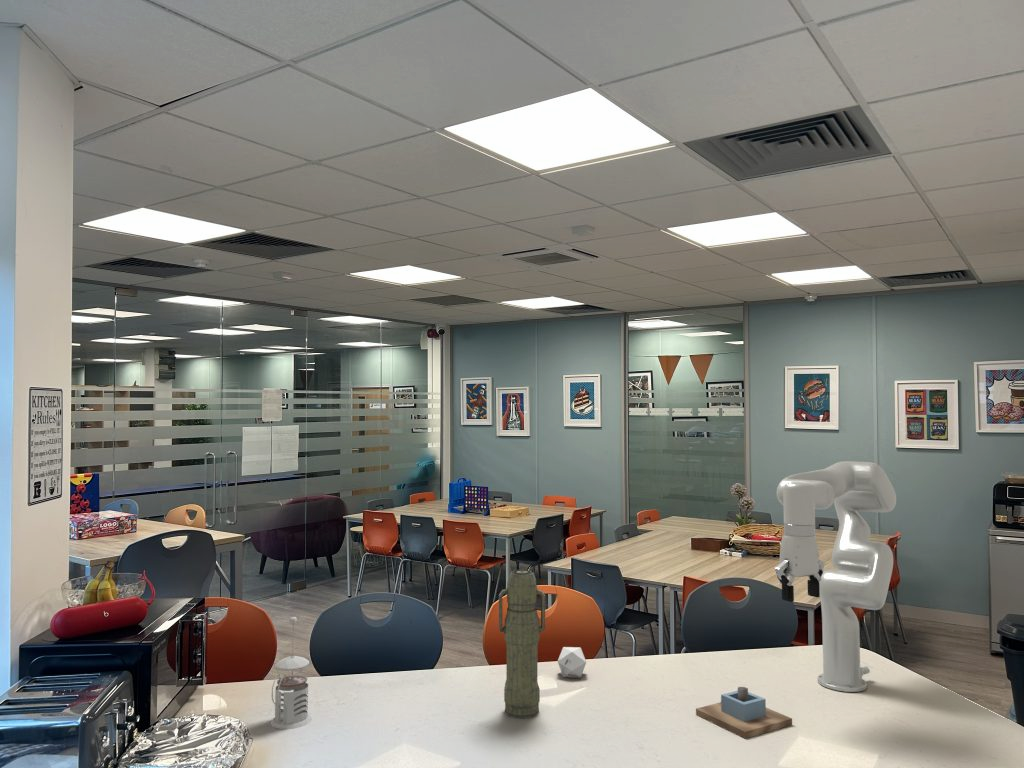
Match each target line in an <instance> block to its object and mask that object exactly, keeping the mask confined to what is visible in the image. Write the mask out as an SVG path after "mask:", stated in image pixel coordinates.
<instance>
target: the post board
mask: <svg viewBox="0 0 1024 768" xmlns="http://www.w3.org/2000/svg"><path fill="white" fill-rule="evenodd" d="M737 691H738V700H740V701H742V702H746V701H748V692H749V688H748V687H746V686H738V687H737ZM695 715H696V716H698V717H699V718H701V719H704V720H706V721H708V722H711V723H712V724H714V725H716V726H718V727H721V728H722V729H725V730H726V731H729V732H731V733H733V734H735V735H737V736H739V737H740V738H743V739H749V738H751V737H756V736H759V735H761V734H765V733H770V732H772V731H775V730H779V729H780V730H781V729H782V728H786V727H790V726H793V718H792V717H790V716H788V715H785V714H783V713H780V712H777V711H776V710H773V709H771V708H768V707H766V716H763V717H760V718H756V719H752V720H749V721H745V722H744V721H741V720H739V719H737V718H735V717H733V716H731V715H728V714H726V713H724V712H722V711H721V701H719V702H716V703H713V704H708V705H705V706H702V707H696V709H695Z"/></svg>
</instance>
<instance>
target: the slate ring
mask: <svg viewBox="0 0 1024 768" xmlns="http://www.w3.org/2000/svg"><path fill="white" fill-rule="evenodd" d="M720 702H721V711H722V712H724V713H726V714H728V715H731V716H733V717H735V718H737V719H739V720H741V721H744V722H745V721H749V720H752V719H756V718H760V717H763V716H766V708H767V706H766V704H767V703H766V698H764V697H762V696H759V695H756V694H755V693H752V692H750V691H748V701H746V702H742V701H740V700H738V690H735V691H732V692H726V693H723V694H720Z"/></svg>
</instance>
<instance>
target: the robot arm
mask: <svg viewBox="0 0 1024 768" xmlns="http://www.w3.org/2000/svg"><path fill="white" fill-rule="evenodd" d="M776 498H777V500H778V502H779V503H780V504H781V505H782V506H783V535H782V537H781V541H780V549H779V564H778V565H777V566H776V567H775V568H774V572H775V574H776V576H777V579H778V580H779V583H780V585H781V600H783V601H786V602H789V603H792V602H794V601H795V595H794V594H795V593H794V592H795V589H794V587H795V586H794V585H792V584H793V583H794V580H795V579H796V578H804V577H808V578H809V579H807V595H808V597H809V596H810V597H814V598H819V599H820V608H821V623H822V624H821V625H822V629H821V630H822V666H823V667H822V668H823V673H821V674H819V675H818V676H817V682H818V683H819V685H821V686H823V687H825V688H828V689H830V690H834V691H838V692H839V691H840V692H845V693H846V692H847V693H858V692H863V691H865V690H867V688H868V684H867V682H866V681H865V680H864V679H863V676H864V675H867V674H869V673H870V671H871V670H870V668H869V667H868V666H861V648H860V647H861V645H860V644H861V643H860V641H861V640H860V622H859V619H858V616H857V615H856V613H855V611H854V610H853V608H858V609H865V610H871V611H878V610H881V609H882V608H884V605H885V603H886V601H887V597H888V596H887V595H888V592H889V588H890V587H889V586H890V583H891V578H892V575H893V568H894V554H893V551H892V549H891V547H890V546H889V545H888V544H886V543H884V542H881V541H874V540H870V537H871V527H870V526H869V524H868V522H866V520H865V518H863V517H862V515H861V514H860V513H859V512H858V511H861V512H871V513H872V512H873V513H890V512H892V511H893V510H894V508H895V507H896V505H897V494H896V491H895V488H894V486H893V485H892V482H891V481H890V479H889V477H888V475H887V474H886V472H885V470H884V469H883V468H882V467H881V466H880V465H879V464H877V463H875V462H872V461H871V462H870V461H851V460H850V461H846V460H844V461H838V462H836V463H833V464H832V465H829V466H828V467H826V468H824V469H816V470H812V471H806V472H799V473H795V474H791V475H788V476H786V477H784V478H783V479H781V481H780V482H779V483H778V486H777V488H776ZM833 504H834V507H835V508H834V509H835V512H836V515H837V519H838V524H839V525H838V530H837V534H836V537H835V541H834V545H833V547H832V548H833V549H832V554H831V563H832V565H833V567H834V568H835V569H834V568H833V569H832V568H831V569H826V570H824V568H825V565H826V564H825V562H824V561H822V559H820V558H819V556H820V554H819V545H818V541H817V536H816V511H815V510H819V511H820V510H821V511H822V510H827V509H828V508H830V507H831V506H832V505H833Z"/></svg>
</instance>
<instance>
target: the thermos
mask: <svg viewBox="0 0 1024 768" xmlns="http://www.w3.org/2000/svg"><path fill="white" fill-rule="evenodd" d="M506 585H507V586H506V588H504V589H501V591H500V593H499V594H498V629H499V630H498V631H499V633H500V632H501V633H503V634H504V641H505V643H506V672H505V673H506V675H505V676H506V679H505V683H504V689H503V692H504V693H503V694H504V696H503V697H504V700H503V702H504V707H505V708H504V712H505V714H506V716H509V717H512V718H514V717H515V719H530V718H533V717H536V716H537V715H539V713H540V706H539V705H540V701H541V700H540V698H541V695H540V693H541V692H540V690H541V689H540V686H539V683H538V645H539V642H540V634H541V633H542V632H543V631H544V630H545V629H546V595H545V593H544V592H543V590H542V589H538V585H537V579H536V576H535V573H534V571H533V572H532V570H529V569H514V570H513V571H511V572H510V573H509V576H508V579H507V583H506ZM538 594H539V595H540V618H539V615H538V608H537V603H538ZM504 595H506V596H507V597H506V603H507V608H506V613H505V614H506V615H505V618H504V625H503V597H504ZM529 717H530V718H529Z"/></svg>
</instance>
